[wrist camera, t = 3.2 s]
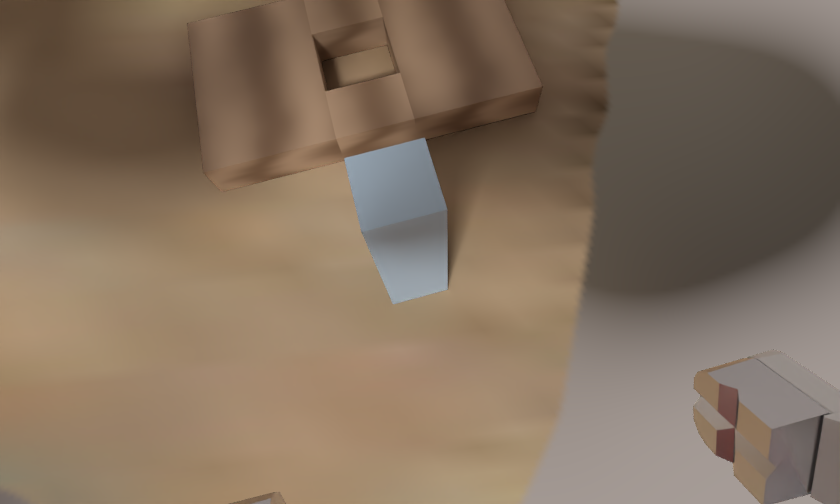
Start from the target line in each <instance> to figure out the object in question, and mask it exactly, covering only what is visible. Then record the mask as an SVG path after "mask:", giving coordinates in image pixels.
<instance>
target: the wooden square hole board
mask: <svg viewBox="0 0 840 504" xmlns="http://www.w3.org/2000/svg"><path fill="white" fill-rule="evenodd" d="M187 27H188V36H189V45H190V54H191V64H192V73H193V82H194V92H195V101H196V110H197V119H198V129H199V138H200V147H201V157H202V166H203V173H204V174H205V175H206V176H207V177H208V178H209V179H210V180H211V181H212V182H213V183H214V184H215V186H216V187H217V188H218V189H219V190H220V191H221V192H224V191H228V190H231V189H235V188H239V187H243V186H247V185H251V184H255V183H259V182H263V181H267V180H270V179H274V178H278V177H282V176H286V175H290V174H294V173H298V172H302V171H306V170H309V169H313V168H317V167H321V166H325V165H329V164H333V163H337V162H341V161H345V160H344V158H347V157H351V156H355V155H359V154H363V153H366V152H370V151H374V150H378V149H382V148H386V147H390V146H394V145H398V144H402V143H405V142H409V141H413V140H417V139H421V138H425V140H426V139H430V138H434V137H438V136H442V135H446V134H450V133H454V132H458V131H462V130H465V129H469V128H473V127H477V126H481V125H485V124H489V123H493V122H497V121H501V120H504V119H508V118H512V117H516V116H520V115H524V114H528V113H532V112H536V109H537V106H538V102H539V98H540V95H541V91H542V88H543V86H542V83H541V81H540V79H539V77H538V74H537V72H536V70H535V68H534V65H533V63H532V61H531V59H530V56H529V54H528V52H527V50H526V47H525V45H524V43H523V41H522V38H521V36H520V34H519V32H518V29H517V27H516V25H515V23H514V20H513V18H512V16H511V14H510V12H509V9H508V7H507V5H506V3H505V0H282V1H278V2H274V3H269V4H265V5H261V6H257V7H253V8H249V9H245V10H240V11H236V12H232V13H228V14H224V15H220V16H216V17H211V18H207V19H203V20H199V21H195V22H191V23H187ZM384 45H387V46H388V49H389V52H390V56H391V59H392V62H393V65H394V69H395V72H396V74H393V75H389V76H385V77H381V78H377V79H373V80H369V81H365V82H361V83H357V84H353V85H349V86H345V87H341V88H337V89H333V90H329V91H328V89H327V84H326V80H325V76H324V72H323V67H322V63H321V61H323V60H327V59H332V58H336V57H340V56H344V55H348V54H352V53H356V52H360V51H364V50H368V49H372V48H376V47H380V46H384Z"/></svg>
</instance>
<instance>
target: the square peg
mask: <svg viewBox="0 0 840 504" xmlns="http://www.w3.org/2000/svg"><path fill="white" fill-rule="evenodd" d="M344 160H345V164H346V168H347V173H348V177H349V181H350V185H351V190H352V194H353V198H354V202H355V207H356V211H357V215H358V219H359V223H360V228H361V232H362V234H363V237H364V239H365V241H366V243H367V246H368V248H369V250H370V253H371V255H372V257H373V259H374V262H375V264H376V266H377V269H378V271H379V273H380V275H381V278H382V280H383V282H384V284H385V287H386V289H387V291H388V294H389V296H390V298H391V300H392V303H393V304H396V303H400V302H403V301H407V300H411V299H414V298H418V297H422V296H425V295H429V294H433V293H437V292H440V291H444V290H448V231H447V207H446V203H445V200H444V197H443V194H442V191H441V188H440V184H439V181H438V178H437V175H436V172H435V169H434V165H433V162H432V159H431V156H430V153H429V150H428V146H427V143H426V140H425V138H421V139H417V140H413V141H409V142H405V143H402V144H398V145H394V146H390V147H386V148H382V149H378V150H374V151H370V152H366V153H363V154H359V155H355V156H351V157H347V158H344Z"/></svg>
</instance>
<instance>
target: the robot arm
mask: <svg viewBox="0 0 840 504" xmlns="http://www.w3.org/2000/svg"><path fill="white" fill-rule="evenodd" d="M694 389H695V390H696V391H697V392H698V393H699V394H700V395H701V396H700V397H699V399H698V400H697V402H696V403H695V405H694V406H693V411H694V422H695V424H696V427H697V430H698V432H699V434H700V436H701V438H702V439H703V441H704V442H705V444H706V445H707V446H708V447H709V448H710V449H711V451H712V452H713V453H714V454H715V455H716V456H718V457H721V458H723V459H725V460H727V461H730V462H732V463H733V471H734V476H735V477H736V478H737V479H738V480H739V481H740V482H741V483H742V484H743V485H744V487H745V488H746V489H747V490H748V491H749V492H750V493H751V494H752V495H753V496H754V497H755V498H756V499H757V500H758V502H759V503H760V504H774V503H778V502H782V501H785V500H789V499H793V498H797V497H801V496H805V495H808V494H811V497H812V498H814V499H815V500H817V501H819V502H821V503H823V504H840V391H839V390H838V389H836V388H835V387H834V386H832V385H831V384H829V383H828V382H826V381H825V380H823V379H822V378H820V377H819V376H817V375H816V374H814V373H813V372H811V371H810V370H808V369H807V368H805V367H804V366H802V365H801V364H799V363H798V362H797V361H795V360H793V359H792V358H791V357H789V356H787V355H786V354H785V353H783V352H781V351H777V350H770V351H767V352H763V353H760V354H756V355H753V356H749V357H747V358H742V359H739V360H736V361H732V362H729V363H725V364H722V365H719V366H715V367H712V368H709V369H705V370H702V371H699V372H697V374H696V375H695V377H694ZM230 504H286V502H285V501H284V499H283V497H282V495H281V493H280V492H273V493H269V494H265V495H261V496H257V497H253V498H249V499H245V500H242V501H238V502H234V503H230Z"/></svg>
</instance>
